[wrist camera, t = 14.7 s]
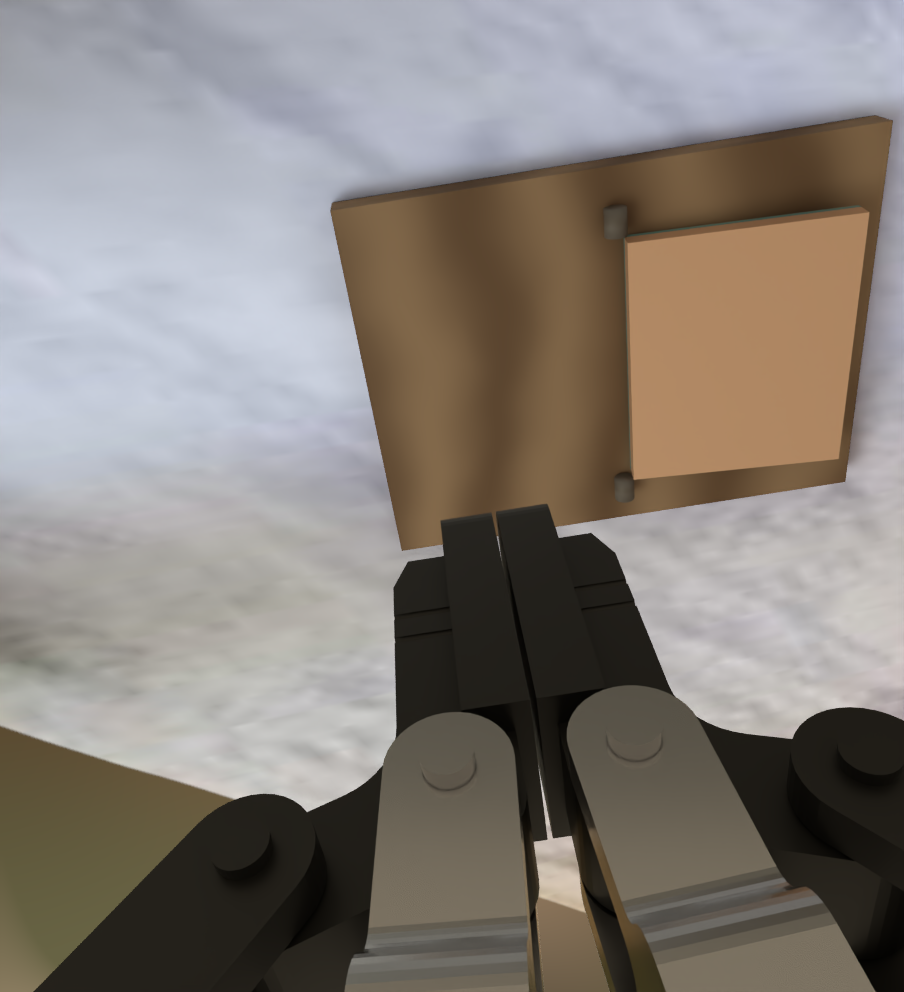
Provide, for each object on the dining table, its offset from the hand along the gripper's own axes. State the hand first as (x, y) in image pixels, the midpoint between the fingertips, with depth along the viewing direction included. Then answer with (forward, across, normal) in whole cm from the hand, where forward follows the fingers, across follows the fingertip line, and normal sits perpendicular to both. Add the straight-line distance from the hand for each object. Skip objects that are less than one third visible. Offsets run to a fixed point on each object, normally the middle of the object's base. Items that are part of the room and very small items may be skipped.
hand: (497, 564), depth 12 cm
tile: (+26, -13, +10) cm, 31 cm away
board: (+29, -8, +10) cm, 32 cm away
